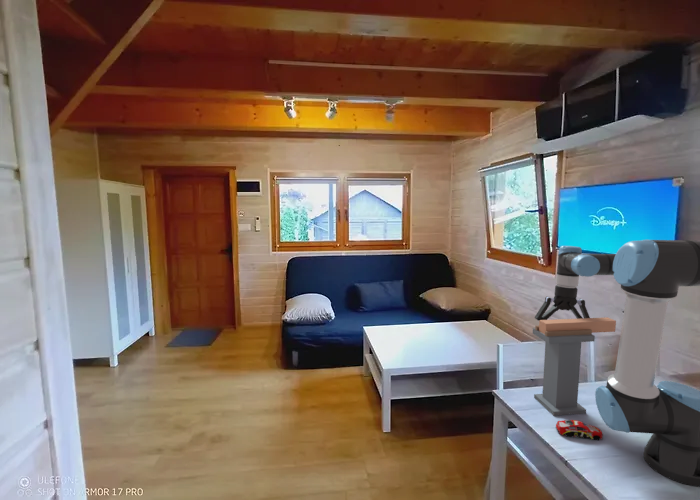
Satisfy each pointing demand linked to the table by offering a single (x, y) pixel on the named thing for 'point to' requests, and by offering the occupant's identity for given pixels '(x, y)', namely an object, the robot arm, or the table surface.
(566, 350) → the stand
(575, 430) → the race car
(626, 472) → the table surface
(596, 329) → the bar
